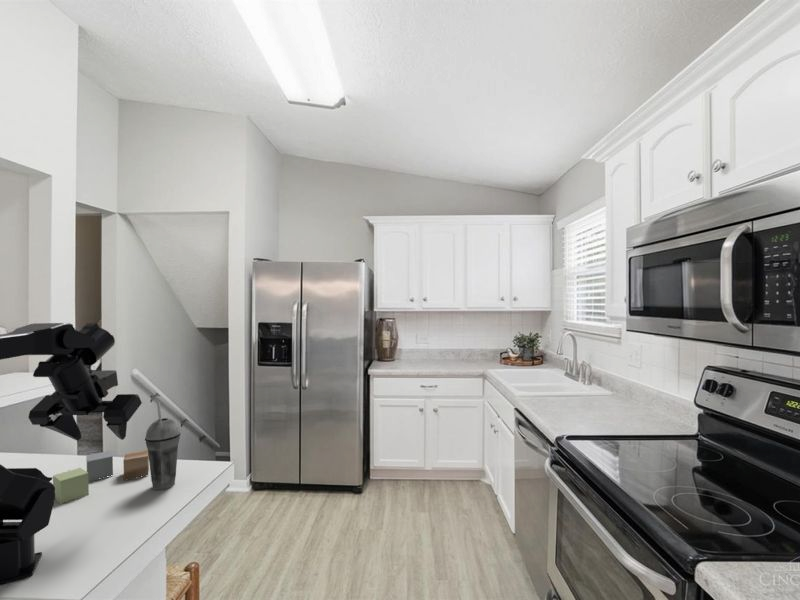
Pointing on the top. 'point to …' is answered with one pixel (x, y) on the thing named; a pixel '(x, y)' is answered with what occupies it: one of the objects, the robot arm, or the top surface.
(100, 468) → the charcoal block
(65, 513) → the top surface
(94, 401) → the robot arm
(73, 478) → the olive block
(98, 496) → the top surface
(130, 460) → the walnut block
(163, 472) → the beverage cup
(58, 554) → the top surface
